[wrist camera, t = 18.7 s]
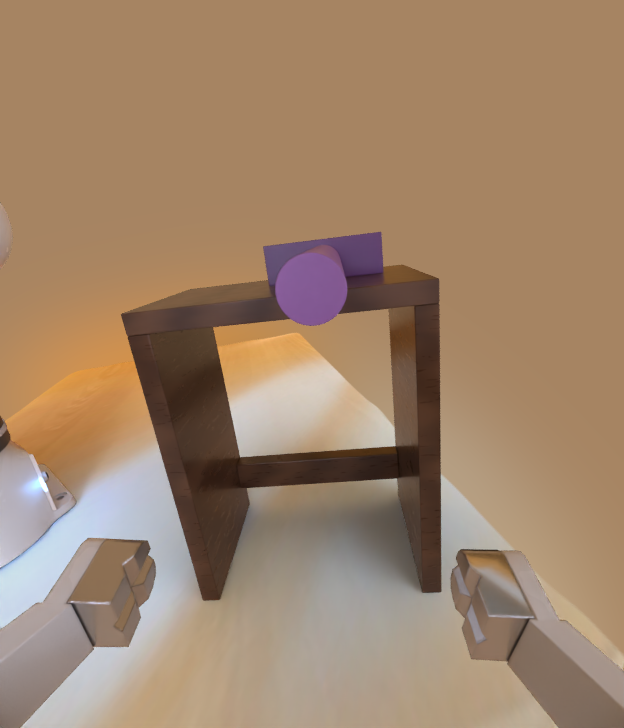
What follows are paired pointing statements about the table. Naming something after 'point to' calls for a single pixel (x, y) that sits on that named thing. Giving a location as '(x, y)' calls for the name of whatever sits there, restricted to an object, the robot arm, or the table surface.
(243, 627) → the table surface
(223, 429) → the bench
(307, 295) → the toy hammer
